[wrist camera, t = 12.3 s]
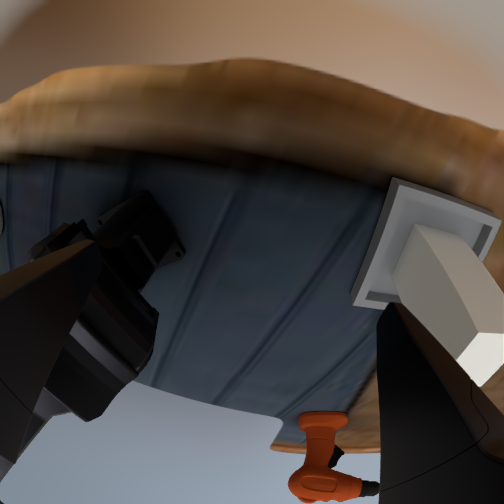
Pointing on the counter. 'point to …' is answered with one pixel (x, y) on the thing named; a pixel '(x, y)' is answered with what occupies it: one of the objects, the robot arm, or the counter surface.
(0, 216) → the water bottle
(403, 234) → the tray
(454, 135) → the counter surface
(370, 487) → the toy drill
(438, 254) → the white block
